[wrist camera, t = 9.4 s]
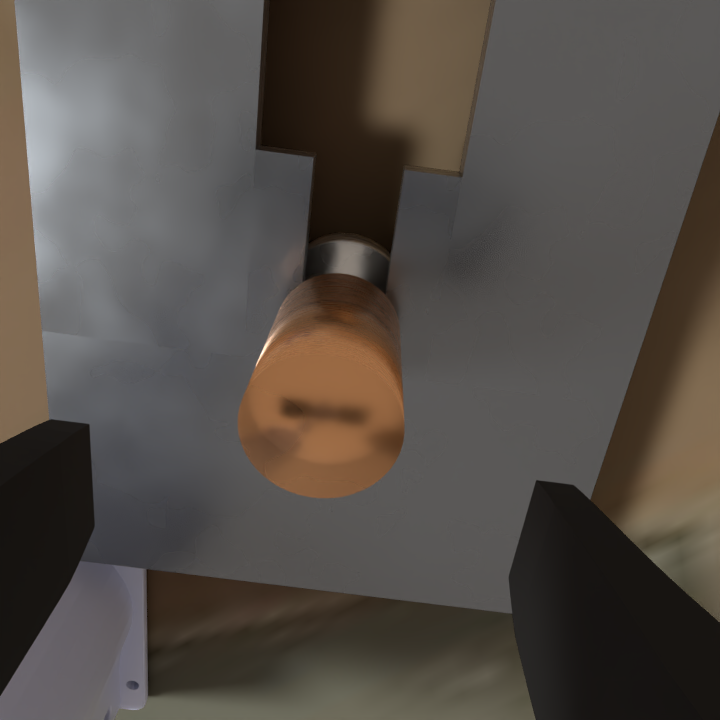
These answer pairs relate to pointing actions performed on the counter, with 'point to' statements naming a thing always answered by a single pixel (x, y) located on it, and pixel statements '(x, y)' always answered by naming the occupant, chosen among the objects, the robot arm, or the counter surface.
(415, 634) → the counter surface
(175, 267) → the keyhole plate
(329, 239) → the peg
